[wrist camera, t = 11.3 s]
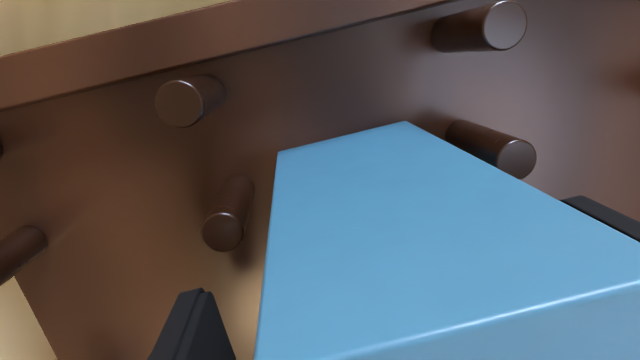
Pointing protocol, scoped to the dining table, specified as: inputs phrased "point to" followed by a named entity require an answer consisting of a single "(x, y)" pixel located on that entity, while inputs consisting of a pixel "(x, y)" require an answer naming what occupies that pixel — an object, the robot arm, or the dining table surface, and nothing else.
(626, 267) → the carton
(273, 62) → the rack
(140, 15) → the dining table surface
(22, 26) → the dining table surface
